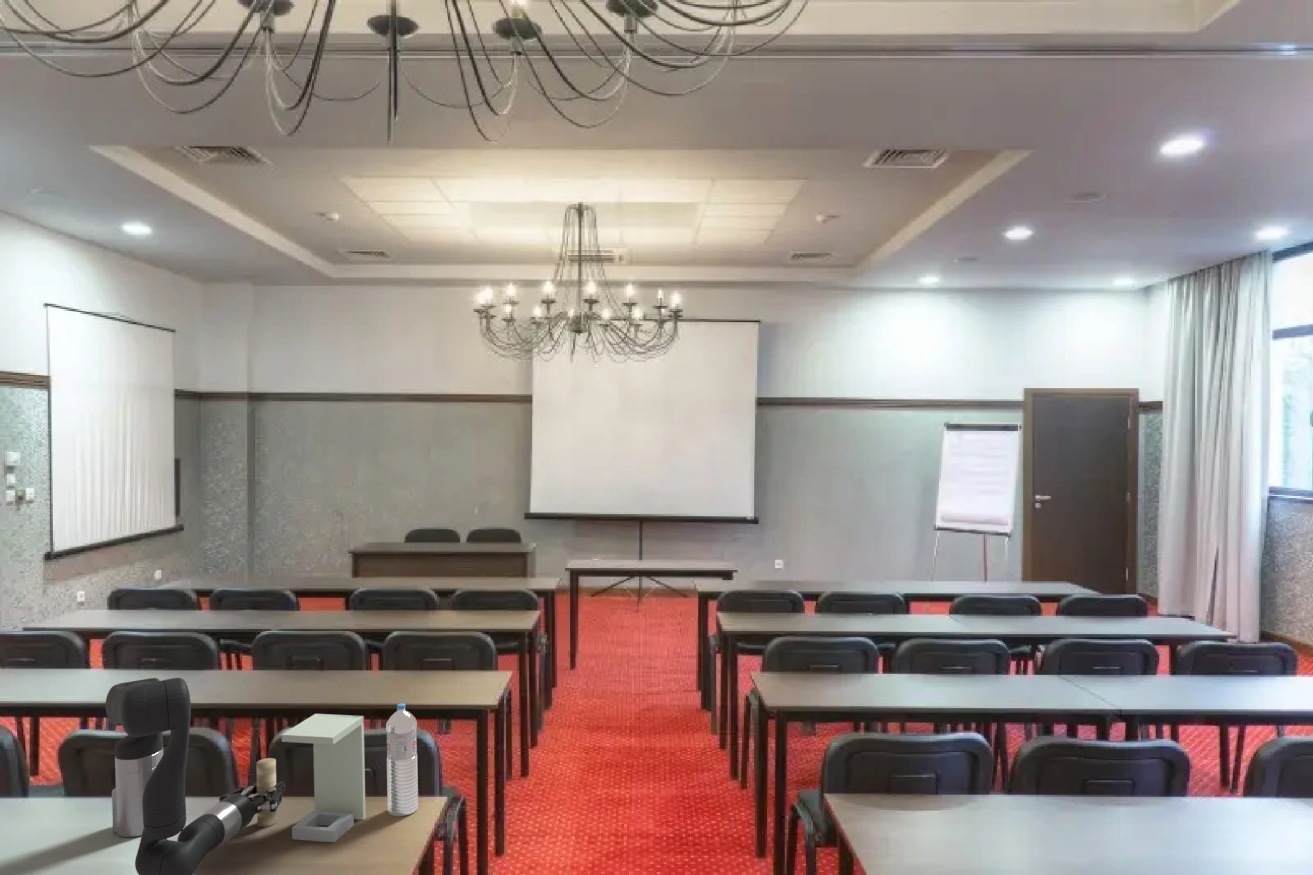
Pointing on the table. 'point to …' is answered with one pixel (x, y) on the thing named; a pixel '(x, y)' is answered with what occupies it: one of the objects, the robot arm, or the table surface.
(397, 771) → the water bottle
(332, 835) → the socket stand
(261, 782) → the peg
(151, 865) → the robot arm
